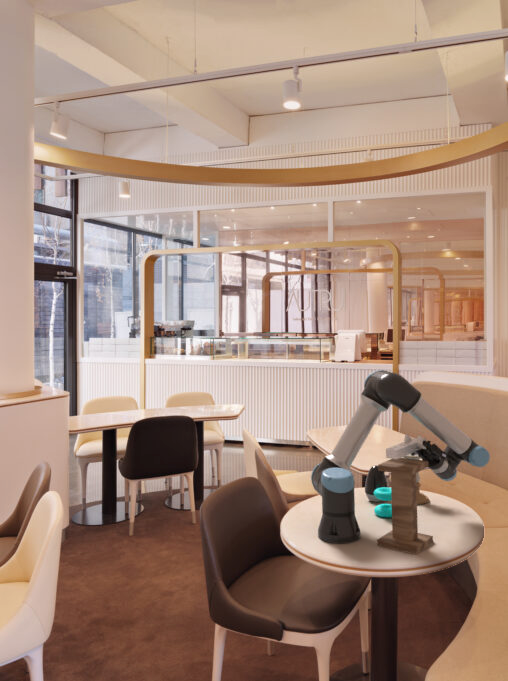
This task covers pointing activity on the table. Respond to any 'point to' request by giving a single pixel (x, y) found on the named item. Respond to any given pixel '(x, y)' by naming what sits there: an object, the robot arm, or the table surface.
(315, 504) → the table surface
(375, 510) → the donuts
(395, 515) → the stand
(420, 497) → the candle holder
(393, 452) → the grey block
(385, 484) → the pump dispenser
